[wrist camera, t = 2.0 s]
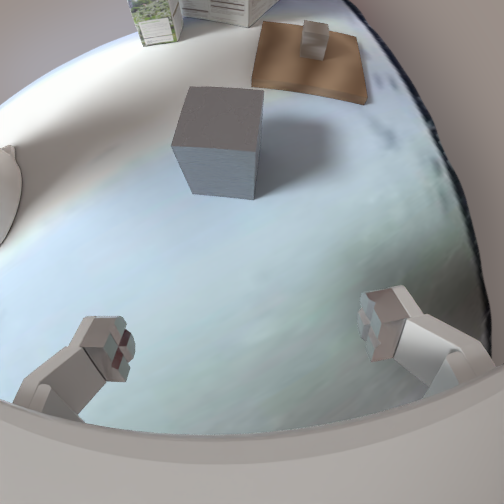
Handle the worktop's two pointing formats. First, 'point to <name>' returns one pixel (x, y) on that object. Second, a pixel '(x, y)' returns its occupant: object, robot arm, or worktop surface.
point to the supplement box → (226, 10)
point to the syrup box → (157, 20)
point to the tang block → (309, 61)
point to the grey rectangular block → (220, 140)
